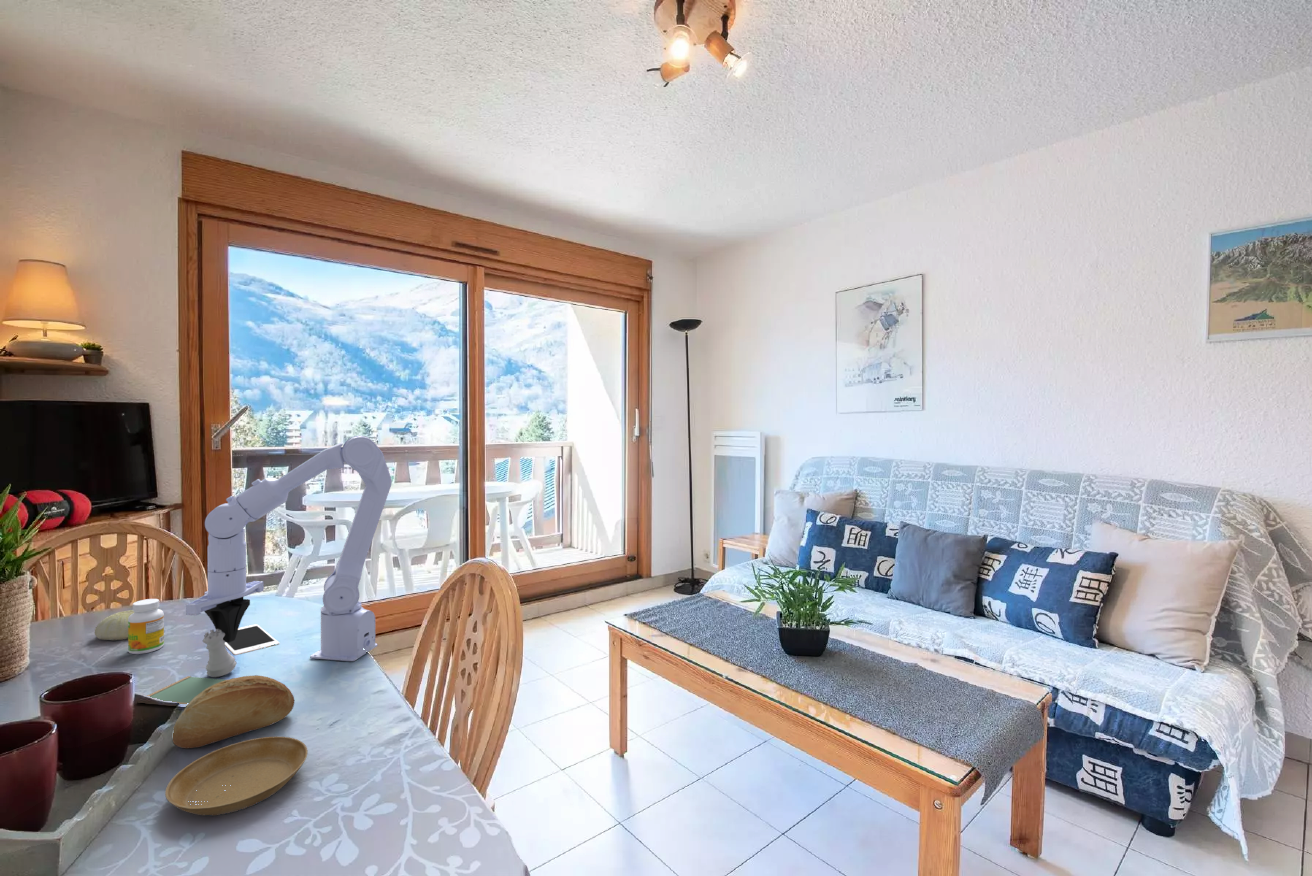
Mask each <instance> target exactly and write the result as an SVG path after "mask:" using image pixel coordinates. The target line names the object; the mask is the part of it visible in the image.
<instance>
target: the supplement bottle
mask: <svg viewBox="0 0 1312 876" xmlns="http://www.w3.org/2000/svg"><path fill="white" fill-rule="evenodd" d="M159 607H160V599H158V598H147V599H146V598H145V599H141V600H138V601H135V602H133V603H132V610H133V611H134V613H133V614H131V615H130V616H129V618H128V639H127V641H128V642H127V650H128V653H129V654H133V655H139V654H140V655H141V654H142V655H143V654H149V653H153V652H155V651H158V650H160V649H162V648H163V647H164V645H165V630H164V629H165V623H164V622H165V621H164V620H165V614H164V611H163V610H162V609H159Z"/></svg>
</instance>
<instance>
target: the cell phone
mask: <svg viewBox="0 0 1312 876" xmlns="http://www.w3.org/2000/svg"><path fill="white" fill-rule="evenodd" d="M279 643H280V641H279V640H277V639H276V638H274V637H273V636H272V635H271V634H270V633H269V632H268V631H266V630H265V629H263V628H262V627H261V626H260V625H259V624H257V623H256V624H255V623H254V624H251V625H246V626H241V627H239V628H238V631H237V635H236V638H235V640H234V641H231V642H225V648H226V649H228V650H229V651H230V652H231V653H232V654H233V655H234V656H237V655H242V654H245V653H250V652H254V651H258V650H261V648H262V649H265V648H264V647H266V648H270V647H272V646H271V645H274V644H278V645H280V644H279ZM269 646H270V647H269ZM274 646H275V645H274Z"/></svg>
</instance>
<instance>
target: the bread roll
mask: <svg viewBox="0 0 1312 876" xmlns="http://www.w3.org/2000/svg"><path fill="white" fill-rule="evenodd" d="M224 680H225V681H222V682H219V683H217V684H214V685H212V686H210V687H208V688H207V689H205V690H204V691H202V692H201V693H200V694H198V695H197V696H196V697H194V698H193V699H192V700H191V701H190V703H189V704H188V705H187V706H186V708H183V711H182V712H181V713H180V715H179V716H178V718H177V720H176V721H175V724H174V726H173V728H174V733H173V740H172V741H173V744H174V745H175V746H176V747H179V748H181V749H193V748H194V749H196V748H200V747H203V746H207V745H210V744H214V743H216V742H219V741H223V740H227V739H229V738H232V737H235V736H238V735H242V734H245V733H248V732H252V731H256V730H258V729H261V728H266V727H269V726H271V725H274V724H275V723H278V722H279V721H281V720H283V719H285V718H286V717H287V716H288V715H289V714H290V713H291V712H292V710H293V709H294V706H295V697H294V695H293V693H292V691H291V690H290V689H289V687H288V686H287V685H286V684H284V683H282V682H281V681H279V680H277V679H274V678H271V677H268V676H264V675H257V674H256V675H244V676H238V677H233V678H230V679H224Z"/></svg>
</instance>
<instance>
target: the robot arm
mask: <svg viewBox="0 0 1312 876" xmlns="http://www.w3.org/2000/svg"><path fill="white" fill-rule="evenodd" d="M345 463H346V464H347V465H348V466H349V467H350V468H351V469H353V470H354V471H355V472H357V473H358V475H359V477H360V478H361V480H362V482H363V483H364V484H365V487H364V488H363V491H362V493H361V498H360V500H359V503H358V505H357V509H356V511H355V514H354V517H353V520H352V523H351V525H350V528H349V531H348V534H347V537H346V540H345V542H344V545H343V549H342V551H341V553H340V557H339V559H338V560H337V563H336V565H335V568H334V570H333V572H332V573H331V574H330V575H329V576H328V577H327V578H326V580H325V581H324V584H323V592H324V593H323V596H322V603H323V605H322V607H320V650H317V651H316V652H314V653H312V654H310V656H309V658H310V659H316V660H319V659H320V660H329V661H330V660H331V661H343V662H355V661H356V660H358V659H360V658H361V657H363V656H364V655H366V654H367V653H369V652H370V651H372V650H373V649H375V648H377V647H378V643H376V615H375V612H373V610H369V609H366V608H364V607H363V606H362V602H361V601H359V600H360V590H359V585H360V582H361V581H360V580H361V577H362V574H363V573H362V572H363V569H364V564H365V562H366V559H367V556H368V553H369V551H370V548H371V545H372V542H373V539H374V537H375V533H376V530H377V527H378V525H379V521H380V519H381V517H382V513H383V510H384V507H385V505H386V501H387V499H388V495H389V494H390V493H389V492H390V490H391V487H392V482H393V480H392V476H391V474H390V471H389V467H388V465H387V461H386V458H385V456H384V453H383V451H382V450H381V449H380V447H379V446H378V445H377V444H376V442H374V441H373V440H372V439H371V438H369V437H368V436H365V435H360V434H359V435H354V436H351V437H349V438H348V439H347V440H345V441H344V442H343V441H340V442H339V443H337V444H334V445H332V446H329V447H328V448H325V449H323V450H322V451H319V452H318V453H316V454H315V455H314V456H312V457H311V458H309V459H307V460H306V461H304V462H303V463H301V464H300V465H298V466H296V467H295V468H293V469H292V470H290V471H289V472H287V473H286V474H284V475H283V476H281V477H280V478H272V477H265V478H263V479H262V480H261V479H260V478H257V479H255V480H254V481H252V482H251V485H252V486H249V487H248V488H247V489H246V490H244V491H241V492H240V493H239V494H237V495H235V496H234V495H230V496H229V497H226V499H225V501H226V502H227V503H226V502H225V503H222V504H220V505H218V506H216V507H215V508H214V509H213V510H211V511H210V512H209V513H208V514H207V516H206V517H205V519H204V527H205V530H206V532H208V537H207V539H208V540H207V541H208V545H207V591H204V595H202V596H201V597H198V598H196V599H195V600H193V601H190V602H189V603H186V604H185V615H186V616H194V617H195V616H199V615H201V614H202V613H203V612H204V613H205V614H206V616H208V618H209V619H210V621H211V623H212V624H213V627H214V629H215V630H216V629H219V630H221V631H222V632H223V633H225V636H224V638H223V640H224V641H225V642H231V641H234V640H235V638H236V635H237V631H238V628H240V625H241V622H242V620H243V617H244V616H245V613H246V612H247V609H248V608H249V606H251V600H250V599H247V598H244V597H247V596H250V595H252V594H255V593H262V592H264V588H265V587H264V585H265V583H264V581H262V580H261V581H259V580H253V581H250V582H247V542H246V539H245V538H246V530H245V527H246V525H248V523H251V522H252V523H255V522H256V521H258V520H260V519H261V518H262V517H264V516H266V515H267V514H269V513H271V512H272V511H274V510H275V509H277V508H278V507H280V506H281V505H284V504H285V503H287V502H288V497H289V492H291V491H292V490H295V489H296V488H298V487H300V486H301V485H303V484H305V483H307V482H308V481H310V480H312V479H314V478H315V477H317V476H319V475H320V474H322V473H324V472H325V471H327V470H332V469H333V470H335V469H336V470H337V469H344V468H345ZM363 648H364V649H365V650H363ZM366 651H367V653H366Z"/></svg>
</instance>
